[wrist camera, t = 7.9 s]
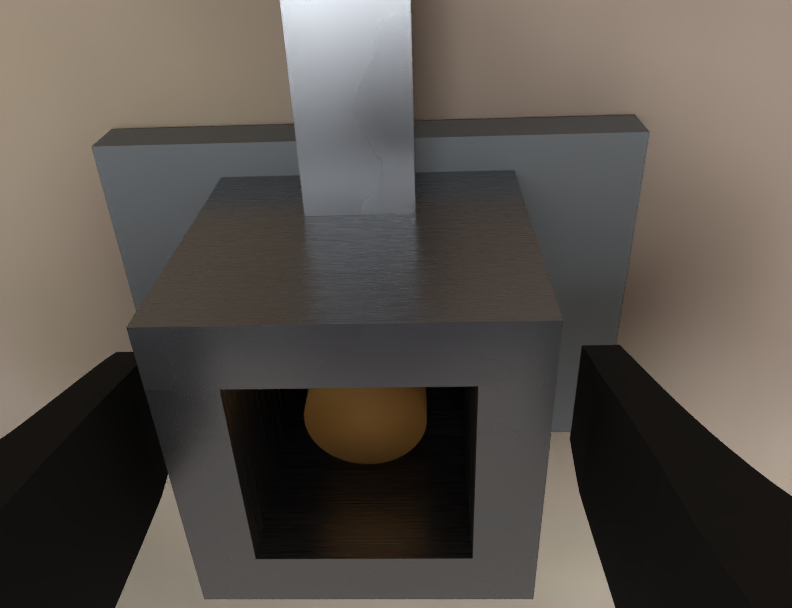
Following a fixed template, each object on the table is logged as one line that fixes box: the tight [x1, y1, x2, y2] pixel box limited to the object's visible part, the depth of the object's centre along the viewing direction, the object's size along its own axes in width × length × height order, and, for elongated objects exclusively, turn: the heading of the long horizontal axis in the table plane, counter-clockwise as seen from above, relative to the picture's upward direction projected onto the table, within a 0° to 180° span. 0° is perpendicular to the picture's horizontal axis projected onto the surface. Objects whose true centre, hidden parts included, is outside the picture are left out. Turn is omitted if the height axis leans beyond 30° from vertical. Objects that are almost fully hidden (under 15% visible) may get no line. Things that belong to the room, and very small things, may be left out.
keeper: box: [92, 115, 649, 464], centre depth 13 cm, size 10×7×4 cm
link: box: [127, 0, 563, 599], centre depth 11 cm, size 5×9×5 cm, turn 2°
